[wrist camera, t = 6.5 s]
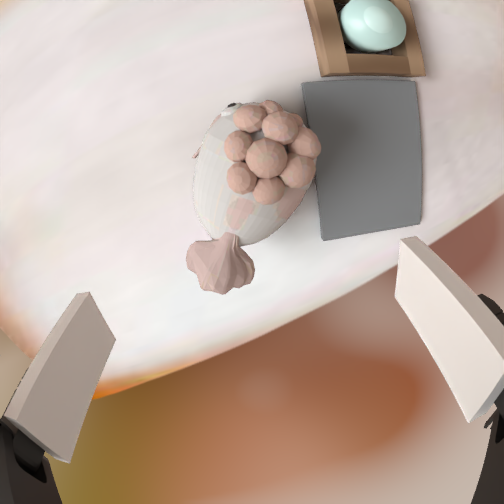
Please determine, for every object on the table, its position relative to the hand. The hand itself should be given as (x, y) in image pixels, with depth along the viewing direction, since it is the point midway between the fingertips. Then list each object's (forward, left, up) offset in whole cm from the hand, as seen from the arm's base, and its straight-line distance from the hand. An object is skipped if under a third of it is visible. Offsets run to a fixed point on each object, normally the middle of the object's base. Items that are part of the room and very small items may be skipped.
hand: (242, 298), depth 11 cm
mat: (-1, +13, -19) cm, 23 cm away
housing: (-14, +14, -19) cm, 27 cm away
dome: (-14, +14, -18) cm, 27 cm away
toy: (0, 0, -19) cm, 19 cm away
